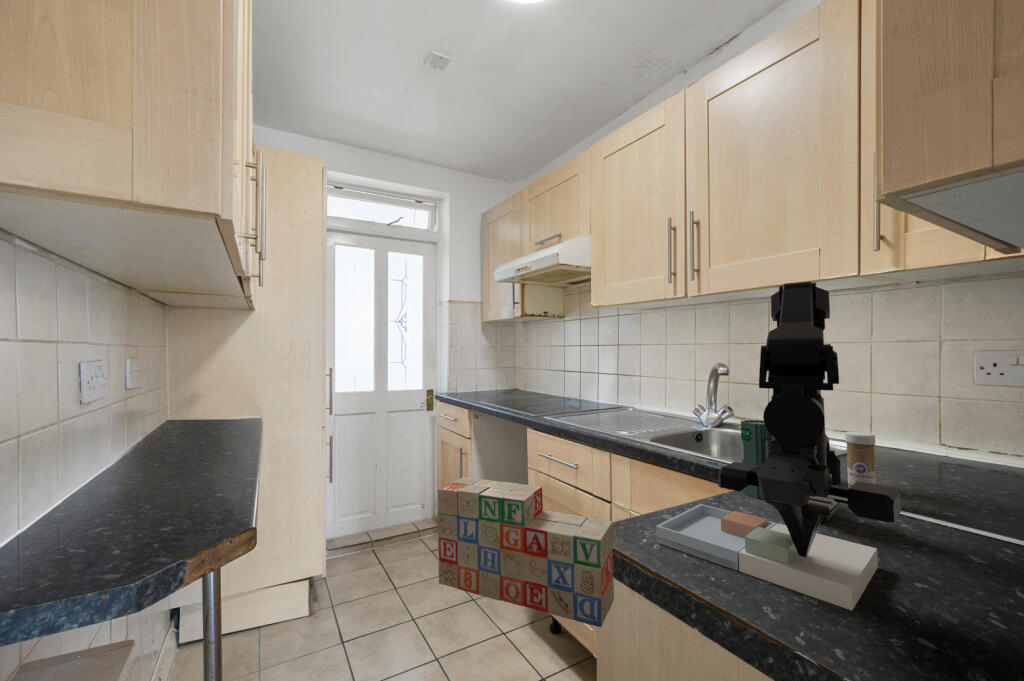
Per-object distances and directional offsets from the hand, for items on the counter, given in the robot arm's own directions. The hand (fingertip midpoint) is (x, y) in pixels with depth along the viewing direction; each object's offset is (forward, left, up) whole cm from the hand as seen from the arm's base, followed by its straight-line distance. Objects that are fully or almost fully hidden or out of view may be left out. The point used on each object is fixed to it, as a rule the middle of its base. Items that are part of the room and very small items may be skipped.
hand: (803, 555), depth 55 cm
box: (-4, -13, -3) cm, 14 cm away
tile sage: (0, -4, -1) cm, 4 cm away
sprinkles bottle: (-44, -2, -3) cm, 44 cm away
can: (-34, -17, -3) cm, 38 cm away
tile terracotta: (-8, -10, -2) cm, 13 cm away
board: (-4, -1, -3) cm, 5 cm away
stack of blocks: (+28, -22, -4) cm, 36 cm away
